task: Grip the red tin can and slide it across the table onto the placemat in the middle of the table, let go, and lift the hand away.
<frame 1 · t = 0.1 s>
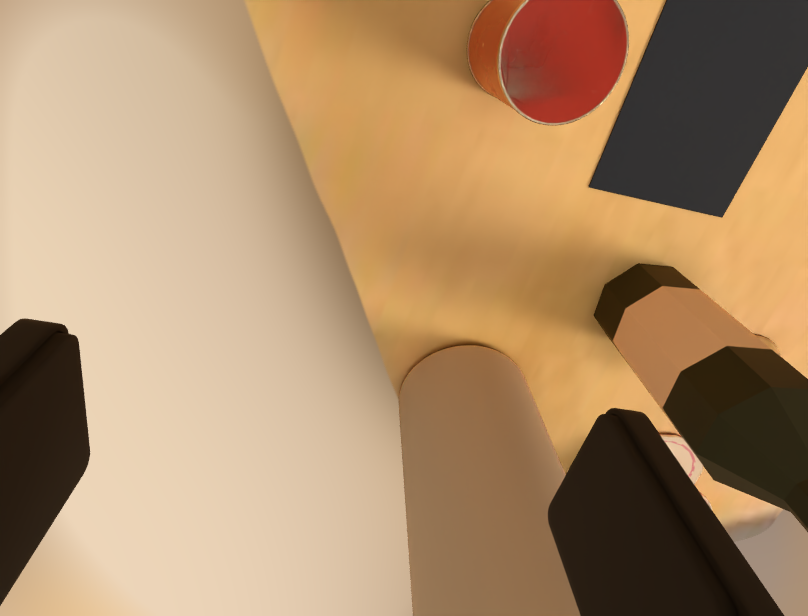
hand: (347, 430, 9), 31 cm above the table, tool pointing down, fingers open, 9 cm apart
teacup: (646, 470, 57), on the table
tin can: (515, 46, 34), on the table
wine bottle: (638, 302, 45), on the table
cylinder vase: (461, 392, 50), on the table
placemat: (707, 98, 37), on the table
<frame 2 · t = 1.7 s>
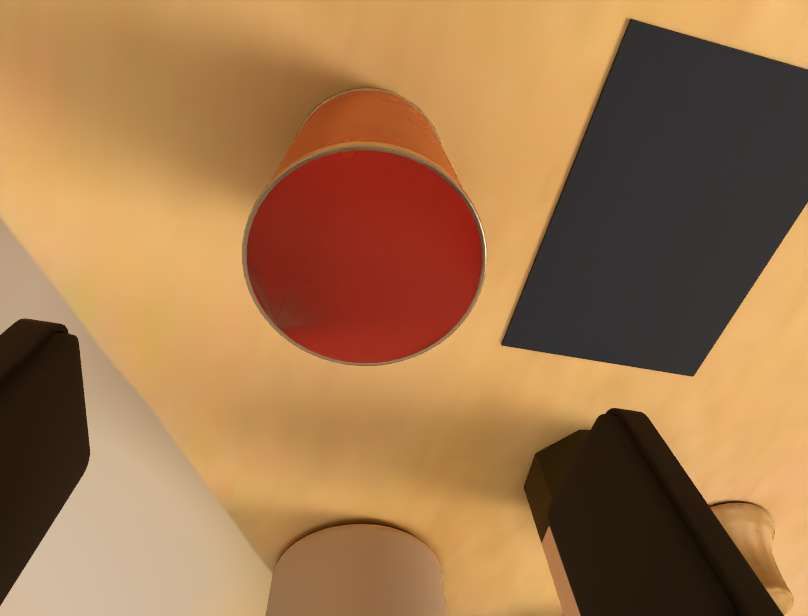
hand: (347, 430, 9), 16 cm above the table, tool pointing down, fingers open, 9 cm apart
tin can: (368, 168, 22), on the table
hand bell: (713, 534, 38), on the table
wine bottle: (583, 471, 34), on the table
cylinder vase: (358, 568, 38), on the table
placemat: (667, 232, 25), on the table
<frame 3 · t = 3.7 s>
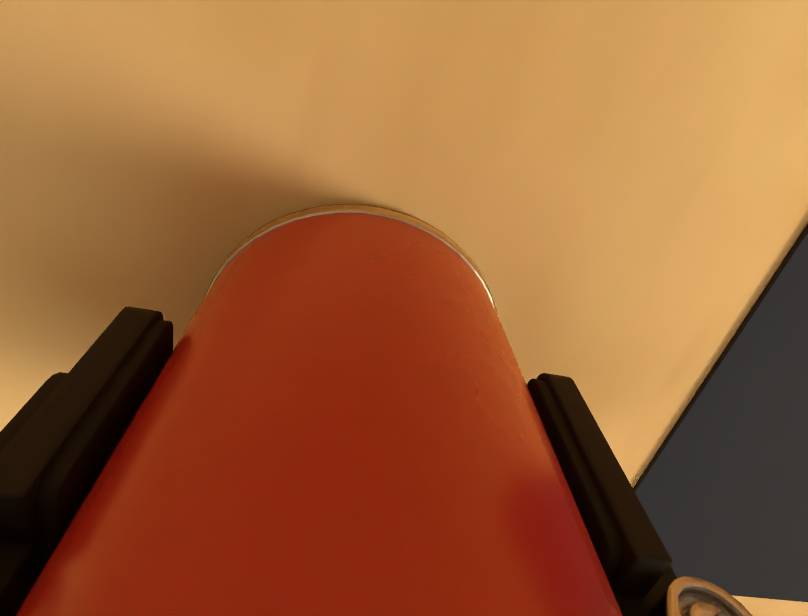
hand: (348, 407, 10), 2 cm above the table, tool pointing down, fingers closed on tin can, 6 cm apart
tin can: (353, 343, 12), on the table, touching gripper
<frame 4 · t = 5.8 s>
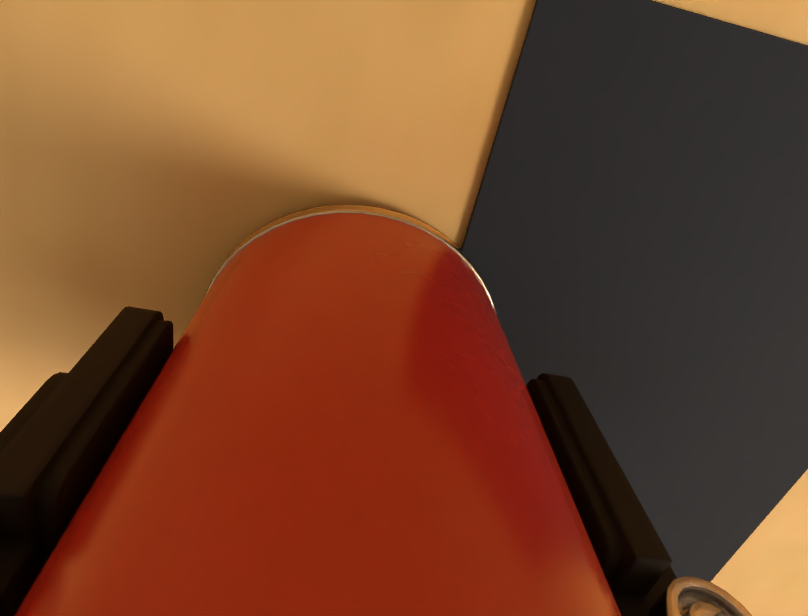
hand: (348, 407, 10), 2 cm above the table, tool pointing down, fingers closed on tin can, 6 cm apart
tin can: (352, 343, 12), on the table, touching gripper
placemat: (650, 391, 13), on the table
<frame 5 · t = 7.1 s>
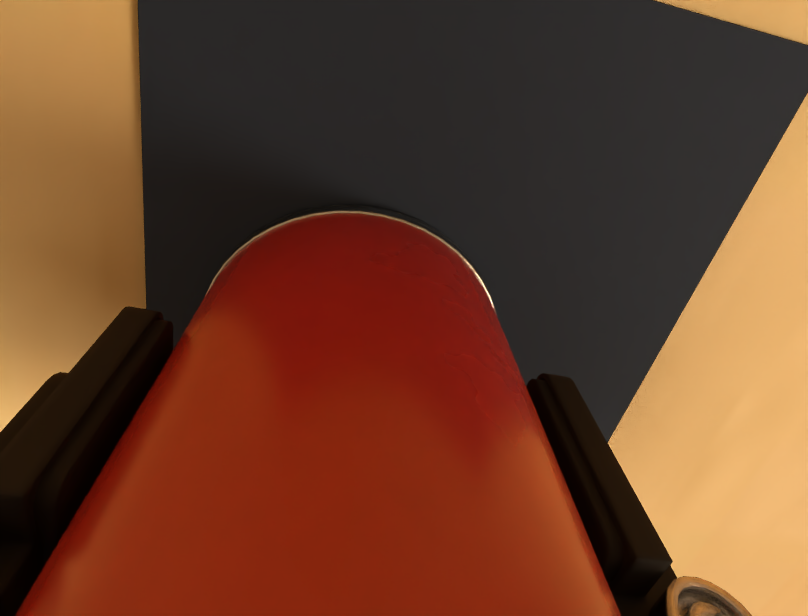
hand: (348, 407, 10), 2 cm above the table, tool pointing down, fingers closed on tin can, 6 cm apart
tin can: (352, 343, 12), on the table, touching gripper
placemat: (410, 354, 12), on the table
when the fingers open (2 cm above the table, at t = 7.9 s): tin can stays where it is, resting on placemat.
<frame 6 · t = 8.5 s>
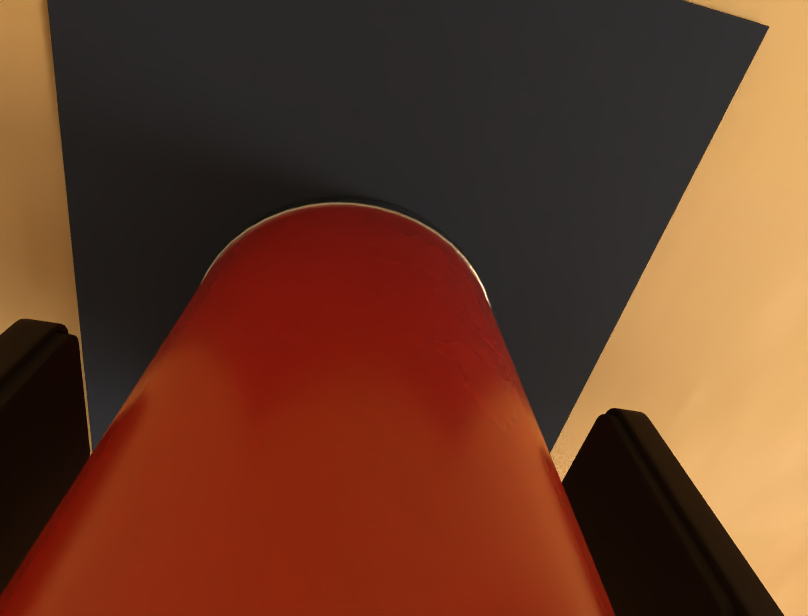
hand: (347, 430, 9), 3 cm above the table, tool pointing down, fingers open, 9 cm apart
tin can: (346, 336, 12), resting on placemat
placemat: (353, 339, 12), on the table
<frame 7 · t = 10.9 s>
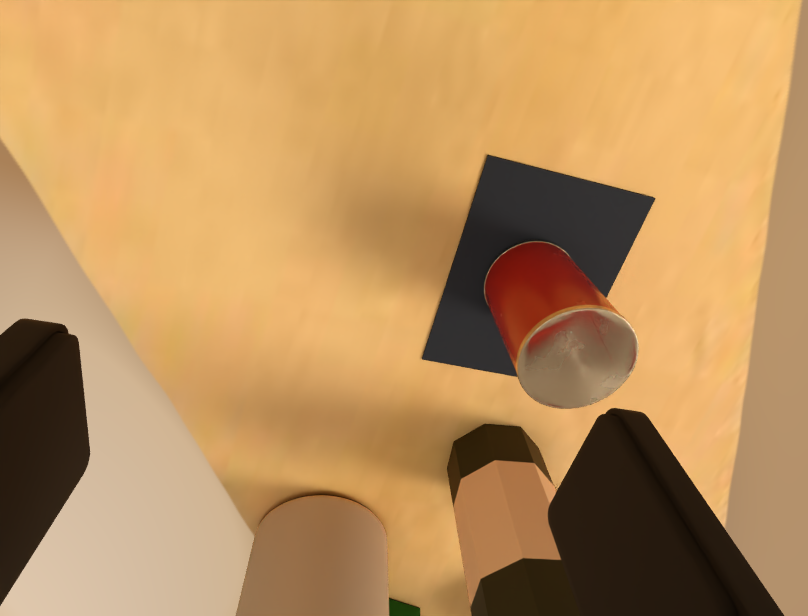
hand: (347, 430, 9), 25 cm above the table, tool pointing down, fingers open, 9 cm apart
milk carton: (375, 613, 55), on the table
tin can: (528, 282, 36), resting on placemat
wine bottle: (492, 456, 45), on the table
cylinder vase: (322, 534, 49), on the table
placemat: (529, 284, 37), on the table
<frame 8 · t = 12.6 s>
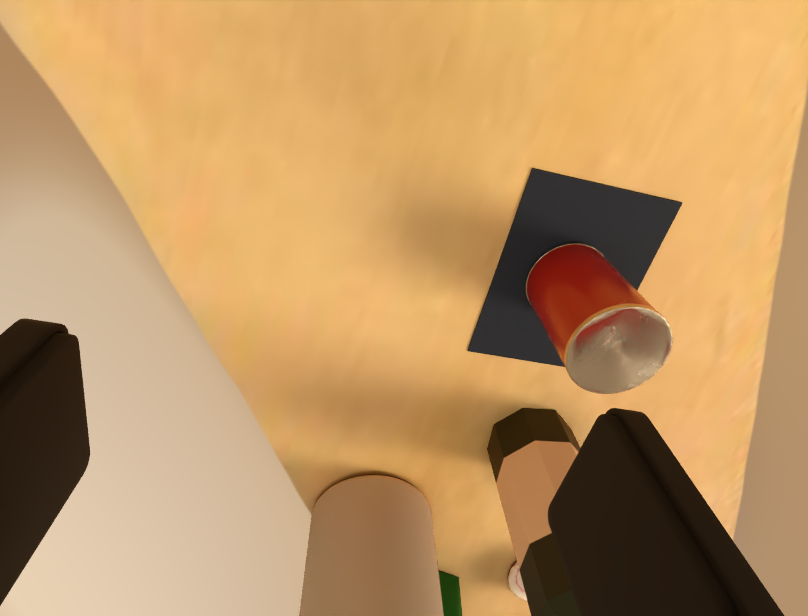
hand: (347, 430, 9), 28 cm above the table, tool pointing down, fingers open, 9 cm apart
teacup: (556, 569, 60), on the table
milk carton: (417, 582, 60), on the table
tin can: (566, 280, 40), resting on placemat
wine bottle: (528, 437, 49), on the table
cylinder vase: (372, 510, 53), on the table
placemat: (567, 281, 40), on the table
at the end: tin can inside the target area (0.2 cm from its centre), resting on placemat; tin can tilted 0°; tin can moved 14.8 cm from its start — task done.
